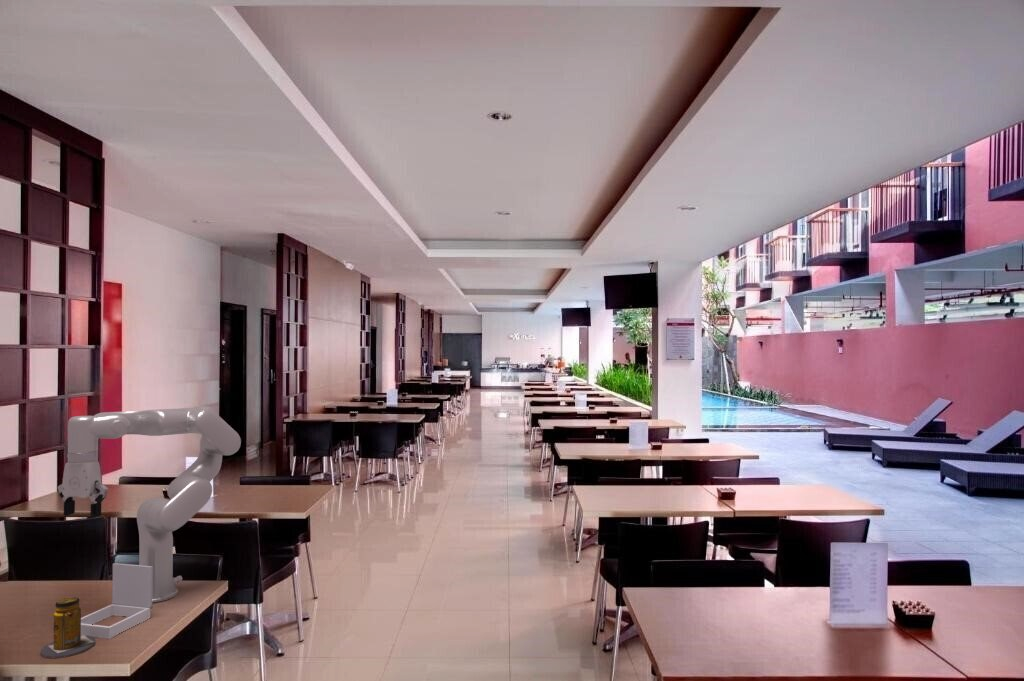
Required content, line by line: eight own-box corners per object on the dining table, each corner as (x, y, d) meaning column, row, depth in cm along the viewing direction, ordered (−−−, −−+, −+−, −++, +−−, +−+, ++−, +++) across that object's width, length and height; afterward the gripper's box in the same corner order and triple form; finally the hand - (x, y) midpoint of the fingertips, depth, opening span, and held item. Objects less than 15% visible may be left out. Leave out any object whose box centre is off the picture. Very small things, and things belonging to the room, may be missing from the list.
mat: (70, 636, 183) (70, 633, 183) (106, 640, 180) (106, 637, 180) (29, 655, 172) (29, 652, 172) (66, 660, 169) (66, 657, 169)
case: (114, 613, 200) (115, 563, 200) (152, 617, 197) (152, 566, 197) (69, 634, 185) (69, 580, 185) (109, 638, 182) (109, 583, 182)
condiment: (47, 646, 175) (48, 600, 176) (84, 635, 182) (84, 591, 182) (57, 654, 171) (57, 607, 171) (94, 643, 177) (94, 597, 178)
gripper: (48, 458, 195) (47, 517, 195) (96, 460, 191) (95, 520, 191) (70, 454, 203) (70, 511, 202) (117, 456, 199) (116, 514, 198)
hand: (82, 515), depth 197 cm, fingers open, 9 cm apart
